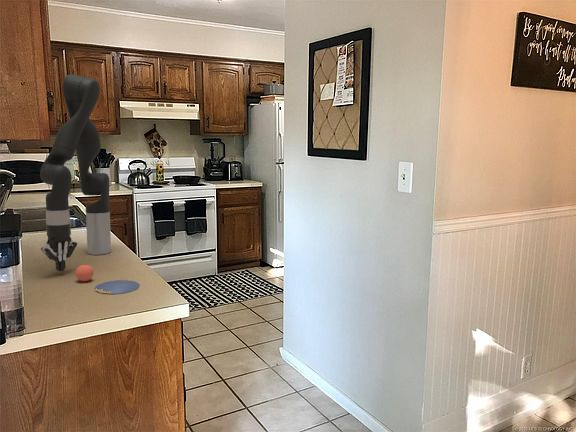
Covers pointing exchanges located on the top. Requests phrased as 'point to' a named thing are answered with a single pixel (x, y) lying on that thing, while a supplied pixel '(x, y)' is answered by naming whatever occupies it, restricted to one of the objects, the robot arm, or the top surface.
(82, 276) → the ball
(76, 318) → the top surface
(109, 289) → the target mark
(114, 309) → the top surface
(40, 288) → the top surface
